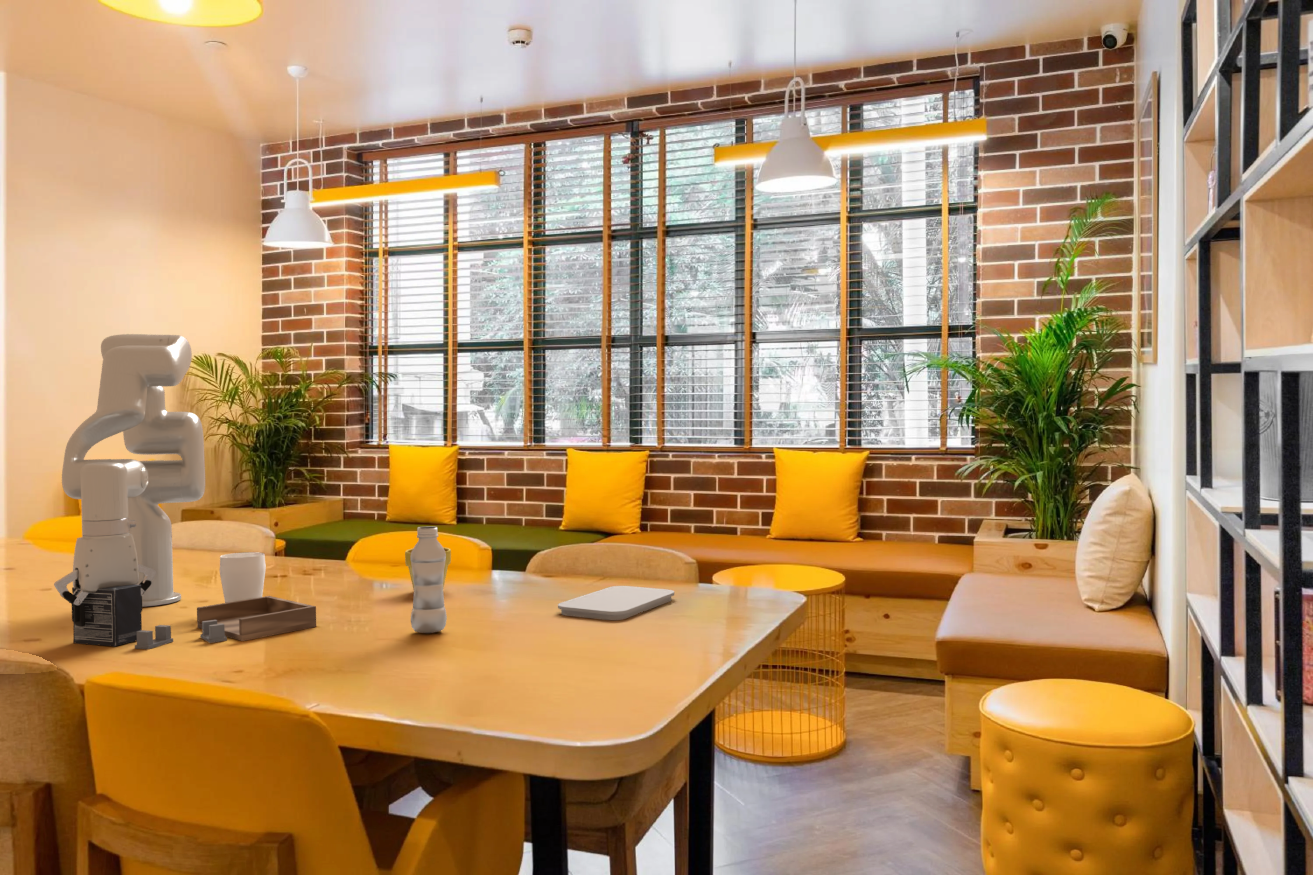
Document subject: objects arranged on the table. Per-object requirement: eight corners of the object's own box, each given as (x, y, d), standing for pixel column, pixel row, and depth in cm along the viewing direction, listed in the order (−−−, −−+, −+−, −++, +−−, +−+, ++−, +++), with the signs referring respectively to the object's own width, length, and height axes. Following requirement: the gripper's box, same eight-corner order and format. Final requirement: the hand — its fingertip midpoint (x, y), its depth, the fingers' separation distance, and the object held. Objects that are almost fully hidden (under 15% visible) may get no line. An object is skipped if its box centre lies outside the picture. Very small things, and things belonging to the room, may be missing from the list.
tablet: (551, 616, 201) (551, 605, 201) (616, 594, 224) (615, 584, 224) (620, 624, 194) (620, 612, 194) (679, 600, 217) (679, 590, 217)
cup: (250, 616, 203) (248, 558, 202) (211, 615, 205) (209, 557, 204) (275, 607, 212) (274, 552, 211) (237, 606, 213) (236, 551, 213)
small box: (145, 639, 184) (143, 583, 183) (115, 647, 177) (113, 589, 177) (102, 635, 187) (100, 580, 187) (71, 643, 181) (70, 586, 180)
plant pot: (445, 595, 223) (445, 552, 223) (400, 595, 224) (399, 553, 223) (455, 587, 234) (455, 546, 234) (412, 587, 234) (411, 546, 234)
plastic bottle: (413, 629, 189) (411, 525, 189) (449, 628, 190) (447, 525, 189) (408, 636, 183) (406, 530, 182) (445, 635, 183) (443, 529, 183)
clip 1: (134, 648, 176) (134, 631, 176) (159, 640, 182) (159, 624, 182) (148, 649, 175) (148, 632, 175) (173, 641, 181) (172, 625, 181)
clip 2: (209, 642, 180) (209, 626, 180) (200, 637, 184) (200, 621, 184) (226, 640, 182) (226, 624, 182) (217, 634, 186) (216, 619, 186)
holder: (197, 627, 193) (196, 607, 193) (269, 614, 204) (269, 595, 204) (242, 640, 181) (241, 619, 181) (316, 626, 192) (315, 606, 192)
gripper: (145, 523, 191) (148, 610, 191) (45, 532, 177) (48, 626, 178) (162, 525, 186) (164, 615, 186) (61, 535, 173) (63, 632, 173)
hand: (108, 620), depth 182 cm, fingers open, 9 cm apart
